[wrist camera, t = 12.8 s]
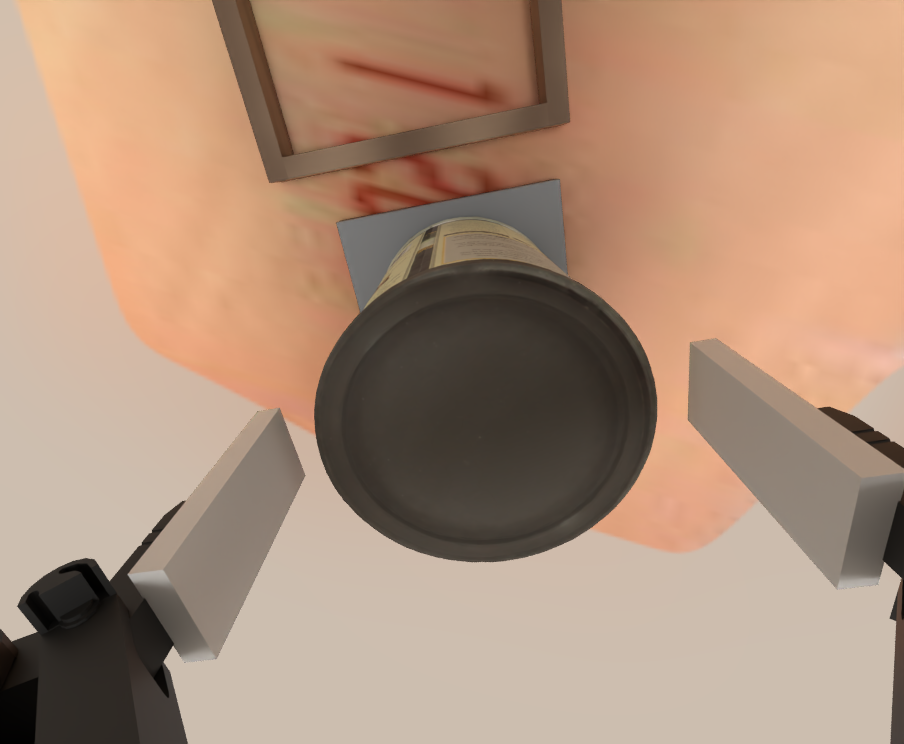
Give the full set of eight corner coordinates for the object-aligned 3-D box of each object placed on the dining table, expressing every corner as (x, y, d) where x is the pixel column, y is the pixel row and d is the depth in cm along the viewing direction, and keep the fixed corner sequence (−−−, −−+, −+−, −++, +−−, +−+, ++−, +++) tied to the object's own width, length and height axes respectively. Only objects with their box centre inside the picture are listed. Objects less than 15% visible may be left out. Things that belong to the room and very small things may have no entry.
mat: (555, 179, 25) (559, 179, 24) (572, 378, 30) (576, 385, 29) (340, 220, 26) (336, 222, 25) (390, 408, 31) (388, 415, 30)
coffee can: (538, 397, 29) (607, 579, 16) (374, 377, 29) (310, 548, 16) (578, 228, 25) (711, 291, 12) (387, 201, 25) (315, 237, 12)
